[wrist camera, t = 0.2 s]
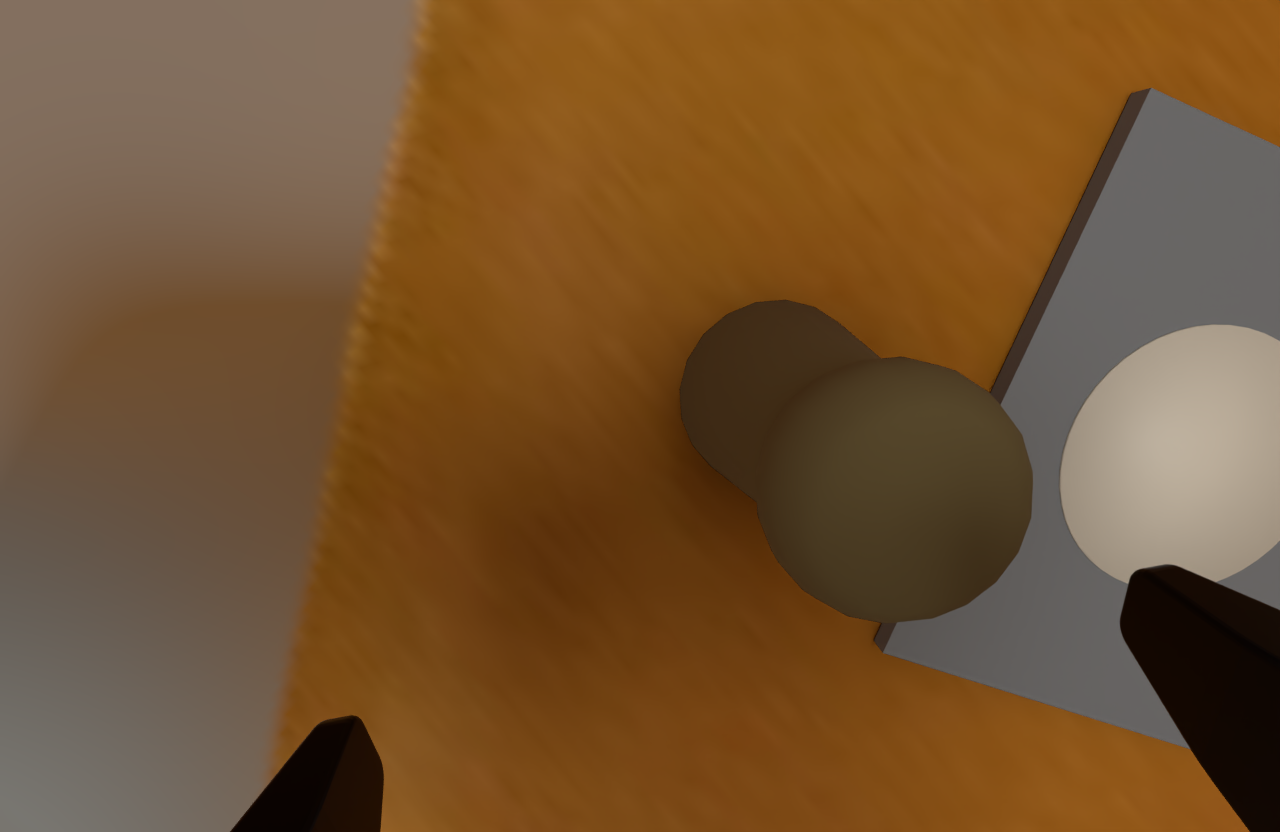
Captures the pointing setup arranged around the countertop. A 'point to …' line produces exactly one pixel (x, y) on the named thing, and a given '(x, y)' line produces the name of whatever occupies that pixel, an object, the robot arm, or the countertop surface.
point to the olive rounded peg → (859, 462)
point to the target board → (1136, 417)
